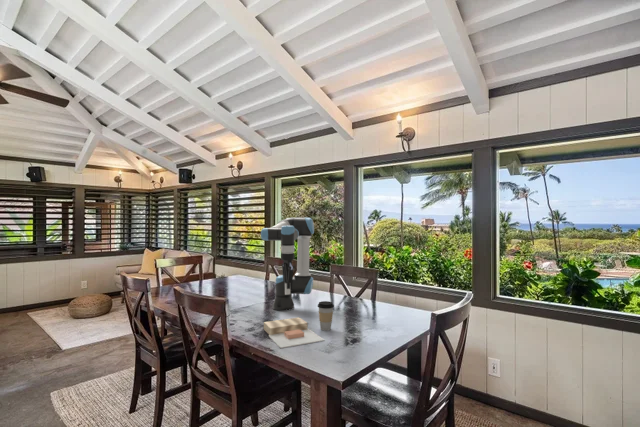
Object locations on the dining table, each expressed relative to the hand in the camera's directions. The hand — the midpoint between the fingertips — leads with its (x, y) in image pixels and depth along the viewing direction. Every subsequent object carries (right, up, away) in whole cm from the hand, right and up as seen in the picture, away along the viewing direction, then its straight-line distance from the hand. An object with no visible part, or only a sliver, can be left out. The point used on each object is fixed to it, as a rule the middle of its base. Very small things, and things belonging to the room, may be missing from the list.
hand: (287, 294), depth 184 cm
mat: (+6, -20, -14) cm, 25 cm away
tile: (+5, -18, -11) cm, 21 cm away
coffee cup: (+22, -21, +2) cm, 30 cm away
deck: (-1, -20, 0) cm, 20 cm away
